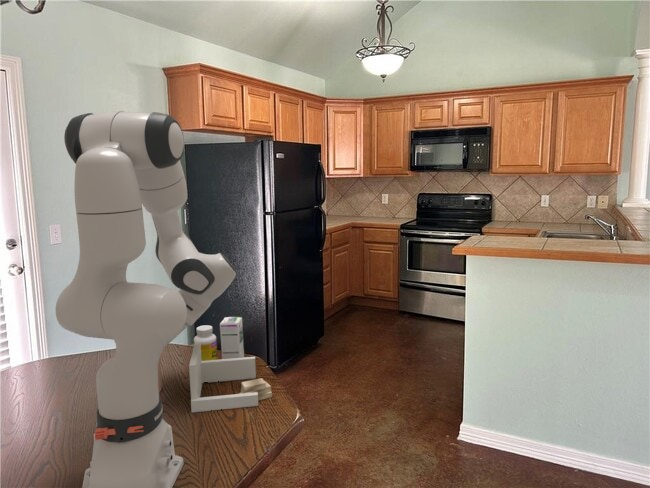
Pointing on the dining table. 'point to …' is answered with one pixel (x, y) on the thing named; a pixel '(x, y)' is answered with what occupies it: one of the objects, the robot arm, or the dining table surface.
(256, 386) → the offcut stack
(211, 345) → the supplement bottle
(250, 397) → the offcut rack
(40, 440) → the dining table surface
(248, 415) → the dining table surface
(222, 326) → the syrup box
